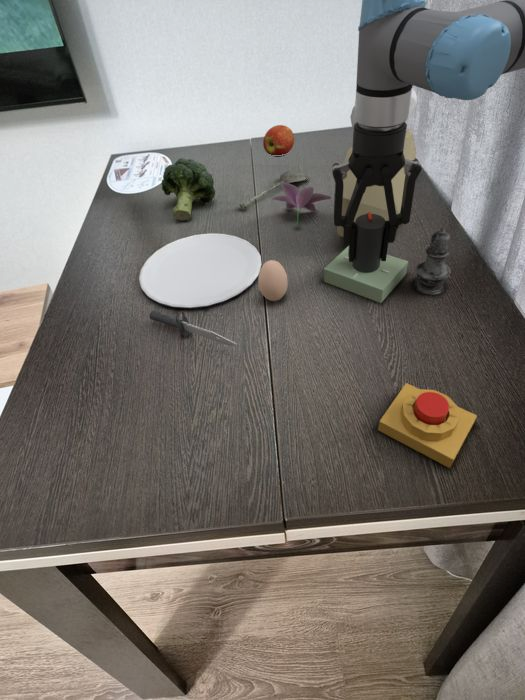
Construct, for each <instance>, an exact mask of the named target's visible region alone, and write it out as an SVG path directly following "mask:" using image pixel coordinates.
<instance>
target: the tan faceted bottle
mask: <svg viewBox="0 0 525 700" xmlns="http://www.w3.org/2000/svg"><path fill="white" fill-rule="evenodd" d="M417 97H418V95H417V93H416V91H415V90H414V88H413V87H412V92H411V100H410V107H409V115H408V119H407V120H406V121H405V123H406V124H407V122H408V121H409V120H410V119H411V117H412V116H413V115H414V113H415V110H416V108H417V106H418V98H417ZM354 115H355V105H354V106H353V107H352V110H351V112H350V123H351V128H352V129H353V130H354V125H355V123H356V121H355V119H354ZM352 147H353V145H351V147H349V148H348V149H347V152H346V155H345V158H344V161H343V163H345V162H348V160H349V158H350V156H351V154H352ZM403 154H404V157H405V159H408V160H414V159H417V158H416V157H417V149H416V145H415V139H414V135H413V132H412V130H411V129H407V128H406V135H405V143H404V150H403ZM356 180H357V178H356V177H355V176H354V174H353V173H352V171H351V170H349V171H348V172H347V177H346V178H345V179H343V202H342V216H345V214H346V211H347V208H348V205H349V203H350V200H351V197H352V194H353V191H354V188H355V185H356ZM391 181H392V188H393V196H394V202H395V209H396V214H399V213H400V211H401V203H402V196H403V188H404V181H405V173H404V168H403V167H402V169H401V170H400V171H399V172H398V173H397V174H396V175H395V177H394V178H393V179H392V180H391ZM333 198H334V199H335V192H334V193H333ZM334 199H333V200H334ZM368 212H371V214H377V215H380V216H382V217H383V218H384V219H385V221H389V216H388V210H387V204H386V198H385V192H384V186H377V185H374V186H370V187H367V188H366V191H365V193H364V194H363V197H362V199H361V202H360V205H359V208H358V210H357V213H356V216H355V219H354V222H355V221H356V219H357V218H358V217H359V216H361V215H364V214H368ZM336 230H337V231H336V232H337V235H338V236H339V237H342V238H343V231H344V228H343V227H342V226H336Z"/></svg>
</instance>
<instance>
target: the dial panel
mask: <svg viewBox="0 0 525 700" xmlns="http://www.w3.org/2000/svg"><path fill="white" fill-rule="evenodd" d="M348 251H349V245H348V246H347V247H346V248H344V249H343V250H342V251H341V252H340V253H339V254H338V255H337V256H336V257H335V258H334V259H333V260H332V261H331V262H330V263H329V264H327V265H326V266H325V267H324V268H323V282H324V283H327V284H329V285H332V286H334V287H337V288H340V289H342V290H345V291H347V292H351V293H353V294H355V295H358V296H361V297H364V298H366V299H369V300H371V301H374V302H376V303H379V304H382V303H383V302H384V300H385V299H386V298H387V297H388V296H389V295H390V293H392V291H393V290H394V289H395V288H396V287H397V285H398V284H399V283H400V282H401V281H402V280H403V278H404V277H405V276H406V275H407V270H408V267H409V266H408V265H409V261H408V260H406V259H403V258H400V257H396V256H394V255H390V254H387V256H386V261H380V267H379V268H378V269H377V270H376V271H374V272H369V273H364V272H359V271H357V270H356V269H354V267H353V265H352V262H349V255H348Z"/></svg>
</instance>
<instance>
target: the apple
mask: <svg viewBox="0 0 525 700" xmlns="http://www.w3.org/2000/svg"><path fill="white" fill-rule="evenodd" d="M262 141H263V142H262V145H263V149H264V151H265V152H266V154H268V155H270V154H271V155H270V156H272V155H282V154H286V153H288V152H289V151H290V150H292V149H293V147H294V145H295V135H294V132H293V130H292V129H291V127H288V126H287V125H283V124H277V125H274V126H272V127H270V128H269V129H268V130H267V131H266V132H265V134H264V137H263V140H262ZM290 152H291V151H290ZM290 152H289V153H290ZM289 153H288V154H289ZM286 155H287V154H286ZM286 155H283V156H273V157H274V158H281V157H282V158H283V157H284V156H286Z"/></svg>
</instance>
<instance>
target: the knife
mask: <svg viewBox="0 0 525 700" xmlns="http://www.w3.org/2000/svg"><path fill="white" fill-rule="evenodd" d="M181 314H182V319H179V316H180V315H181ZM148 317H149V319H150V320H152V321H154V322H159V323H161V324H164V325H166V326H170V327H173V328H175V329H177V330H178V332H179V333H180V334H181V335H182V336H183V337H184V338H186V337H187V336H188V335H189V334H190V333H192V334H195V335H198V336H200V337H203V338H205V339H208V340H211V341H214V342H216V343H220V344H223V345H225V346H237V345H239V344H238V343H236V342H234V341H232V340H231V339H228V338H227V337H224V336H223V335H221V334H218V333H217V332H214V331H212V330H209V329H205V328H203V327H200V326H196V325H195V324H192V323H189V322H190V321H189V320H188V319H189V318H187V317H186V314H185V313H184V312H183V311H179V312H178V313H177V314H176V316H175V317H173V316H170V315H167V314H164V313H161V312H160V311H158V310H151V311H150V312H149V315H148Z"/></svg>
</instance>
